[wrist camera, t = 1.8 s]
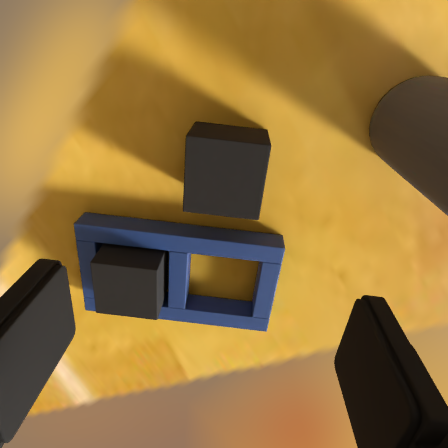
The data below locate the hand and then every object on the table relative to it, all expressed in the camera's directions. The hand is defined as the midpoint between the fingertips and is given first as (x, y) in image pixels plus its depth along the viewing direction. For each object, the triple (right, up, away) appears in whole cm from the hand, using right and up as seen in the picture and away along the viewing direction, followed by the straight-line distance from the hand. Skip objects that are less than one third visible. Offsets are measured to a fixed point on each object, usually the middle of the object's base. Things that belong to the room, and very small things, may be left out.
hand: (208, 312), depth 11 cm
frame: (-3, -1, +18) cm, 18 cm away
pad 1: (-7, 0, +18) cm, 19 cm away
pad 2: (+1, +8, +13) cm, 15 cm away
